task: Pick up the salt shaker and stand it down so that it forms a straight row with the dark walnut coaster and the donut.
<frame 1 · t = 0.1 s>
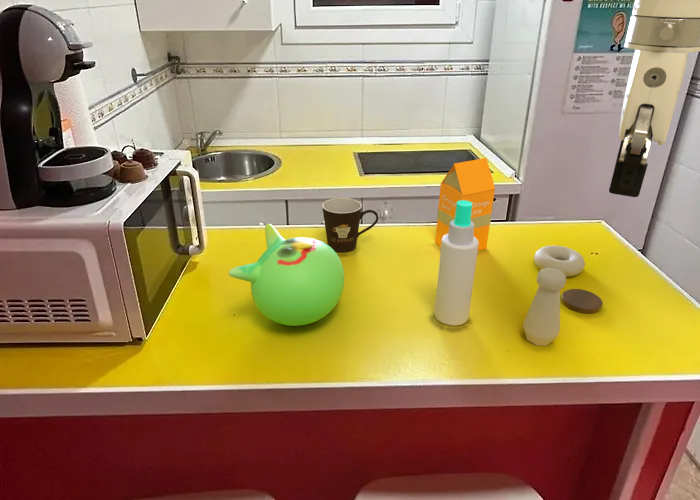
hand: (625, 181, 65), 31 cm above the counter, tool pointing down, fingers open, 9 cm apart
coffee mug: (348, 248, 117), on the counter
salt shaker: (538, 339, 88), on the counter
coaster: (581, 303, 97), on the counter
orange juice: (460, 246, 118), on the counter
toy bird: (297, 313, 94), on the counter
donut: (557, 268, 109), on the counter
spray bottle: (451, 317, 93), on the counter
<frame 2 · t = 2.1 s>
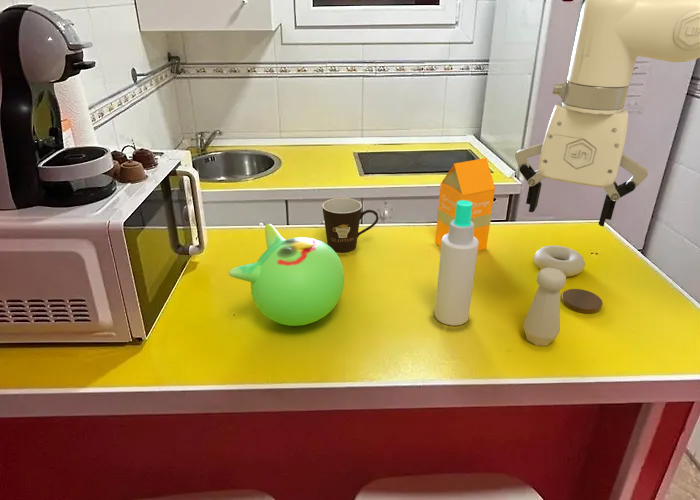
hand: (566, 215, 76), 23 cm above the counter, tool pointing down, fingers open, 9 cm apart
nothing on the counter moved.
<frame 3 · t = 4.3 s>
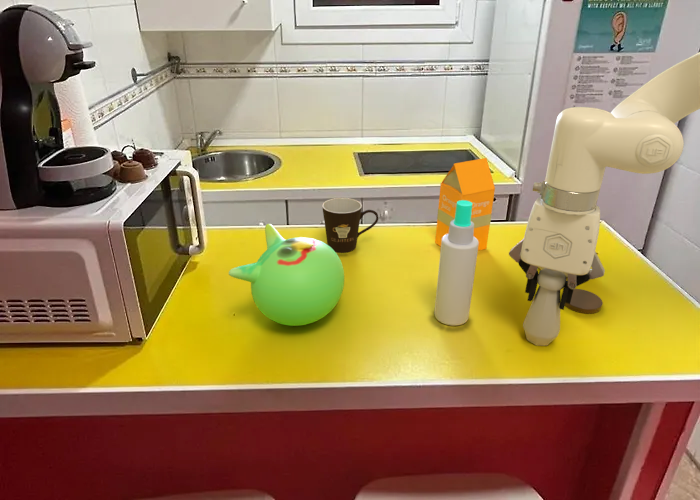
hand: (546, 300, 84), 8 cm above the counter, tool pointing down, fingers closed on salt shaker, 4 cm apart
salt shaker: (538, 339, 88), on the counter, touching gripper
everything else where it was.
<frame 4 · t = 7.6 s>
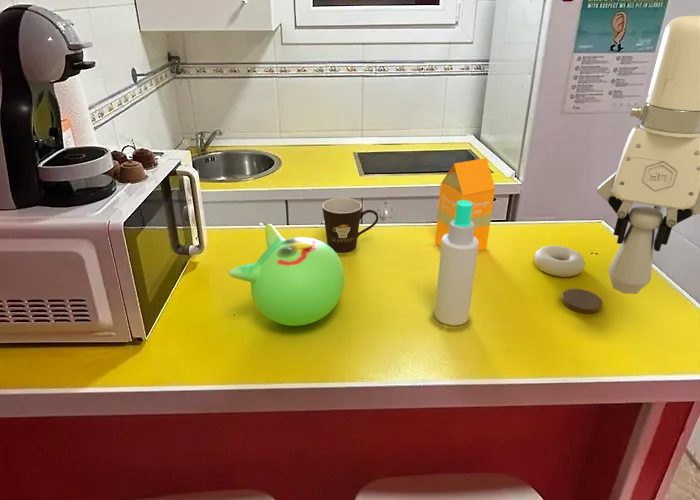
hand: (638, 242, 76), 19 cm above the counter, tool pointing down, fingers closed on salt shaker, 4 cm apart
salt shaker: (625, 288, 80), point 12 cm above the counter, touching gripper
everything else where it was.
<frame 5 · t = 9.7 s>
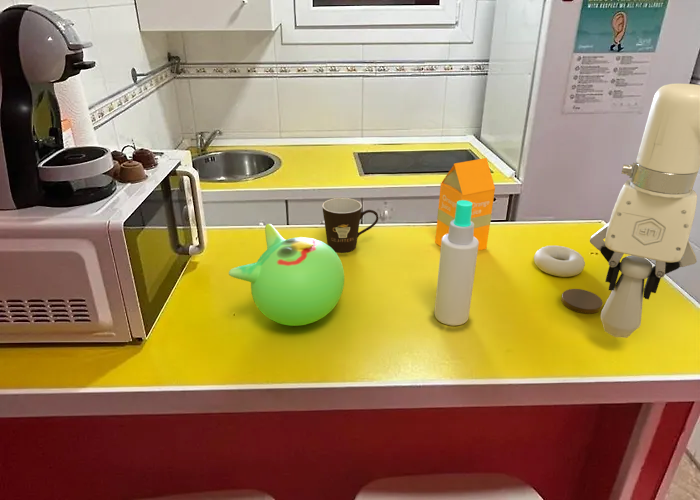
hand: (628, 289, 80), 11 cm above the counter, tool pointing down, fingers closed on salt shaker, 4 cm apart
salt shaker: (616, 331, 84), point 3 cm above the counter, touching gripper
everything else where it was.
when the fingers open (8 cm above the counter, at t = 11.1 s): salt shaker stays where it is, on the counter.
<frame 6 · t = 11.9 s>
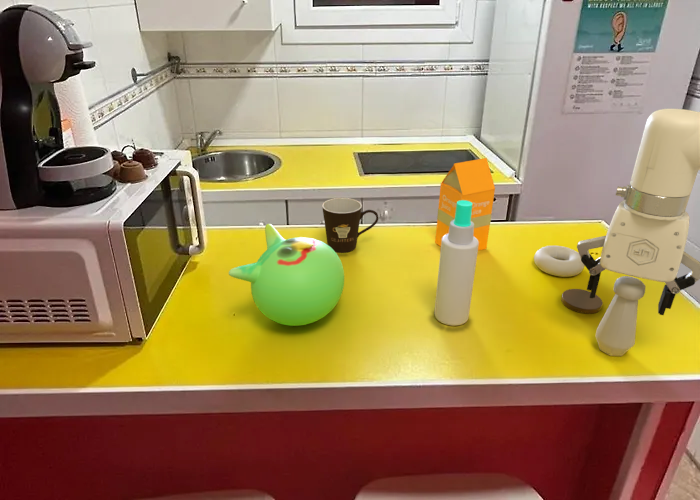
hand: (625, 302, 81), 9 cm above the counter, tool pointing down, fingers open, 9 cm apart
salt shaker: (611, 349, 85), on the counter
everything else where it was.
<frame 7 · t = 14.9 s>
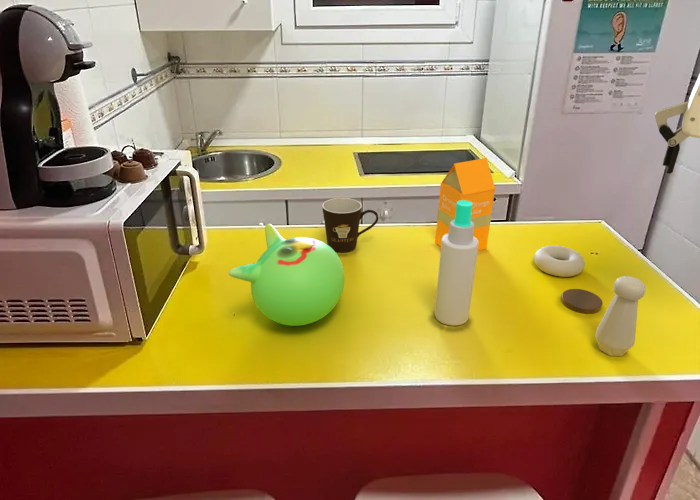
nothing on the counter moved.
at the end: salt shaker 0.1 cm from the target spot, on the counter; salt shaker tilted 0°; donut moved 0.2 cm from its start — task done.
